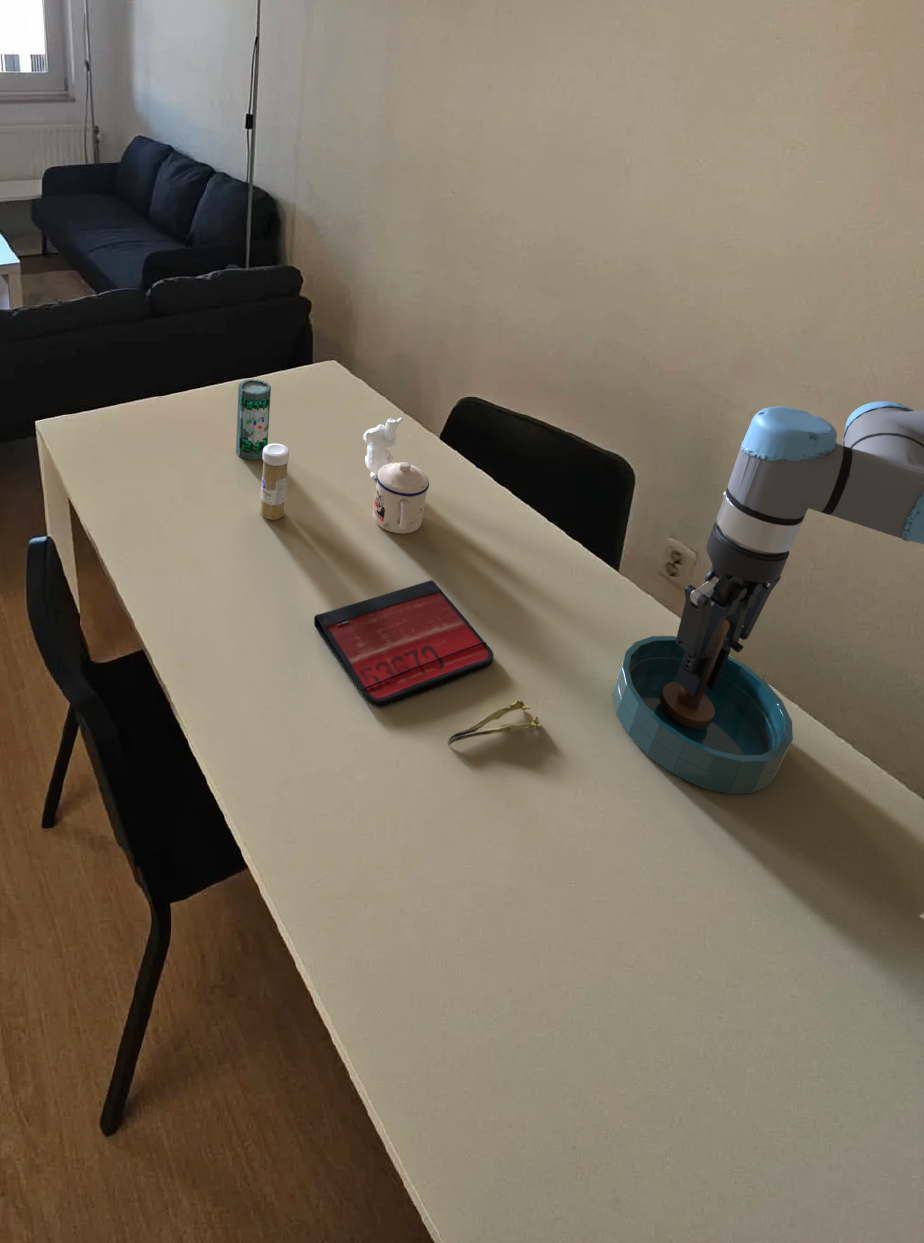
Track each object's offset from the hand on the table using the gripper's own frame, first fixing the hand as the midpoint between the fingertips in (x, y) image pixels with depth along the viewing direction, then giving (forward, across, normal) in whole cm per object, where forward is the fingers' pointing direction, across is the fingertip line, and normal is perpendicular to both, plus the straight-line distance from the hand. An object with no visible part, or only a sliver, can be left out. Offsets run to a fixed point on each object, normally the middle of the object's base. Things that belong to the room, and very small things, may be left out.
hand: (695, 684), depth 95 cm
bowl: (+6, 0, +1) cm, 6 cm away
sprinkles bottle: (+6, +34, -57) cm, 66 cm away
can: (+6, +30, -77) cm, 83 cm away
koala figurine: (+6, +9, -62) cm, 63 cm away
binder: (+6, +28, -23) cm, 37 cm away
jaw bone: (+6, +25, -6) cm, 27 cm away
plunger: (+5, 0, 0) cm, 5 cm away
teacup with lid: (+6, +14, -47) cm, 49 cm away
